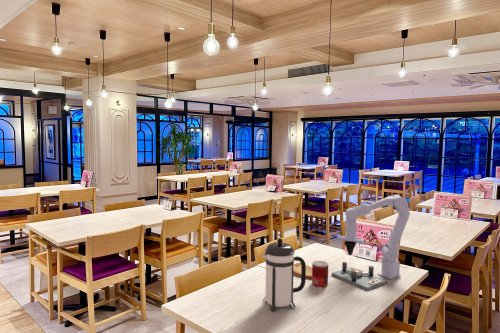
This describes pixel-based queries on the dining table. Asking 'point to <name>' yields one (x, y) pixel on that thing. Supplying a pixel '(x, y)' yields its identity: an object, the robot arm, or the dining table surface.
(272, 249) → the coffee press
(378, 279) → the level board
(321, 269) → the canned food
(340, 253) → the dining table surface
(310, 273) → the slice of bread
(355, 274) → the capstan
